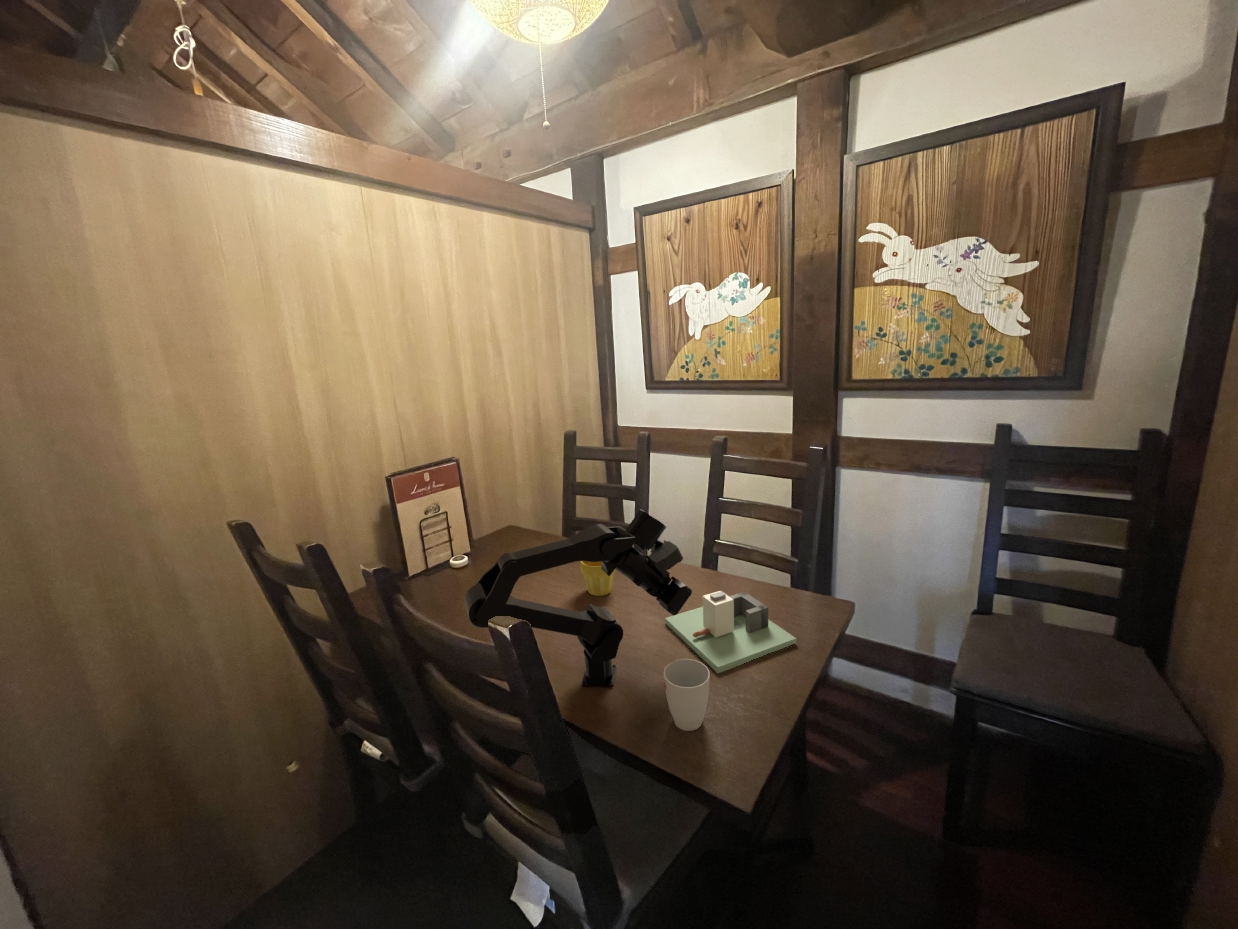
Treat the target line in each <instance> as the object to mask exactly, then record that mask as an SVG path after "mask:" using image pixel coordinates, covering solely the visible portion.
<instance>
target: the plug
mask: <svg viewBox="0 0 1238 929" xmlns="http://www.w3.org/2000/svg"><path fill="white" fill-rule="evenodd" d="M729 596H730V595H728V594H727V593H725V592H724V591H722V590H718V591H715V592H711V593H708V594H704V595H702V607H703V627H704V628H705V629H704V630H701V631H698V632H695V633H693V637H698V636H701V635H704V634H707V633H709V632H710V633H711V634H712V635H713V636H715V637H719V636H722V635H725V634H728V633H731V632H733V631H734V600H733V599H732V598H731V597H729Z"/></svg>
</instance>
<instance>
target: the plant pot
mask: <svg viewBox="0 0 1238 929" xmlns="http://www.w3.org/2000/svg"><path fill="white" fill-rule="evenodd" d="M601 565H602V562H587V561H579V567H580V568H579V569H580V571H581V574H582V575H583V577H584V581H585V583H586V588H587V592H588V593H589V594H590V595H592V596H595V597H601V596H606V595H609V594H610V593H611V592H612V590H613V584H614V578H615V573H616V571H617V570H616V569H615V570H614V571H613V573H612V574H611V575H610V576H608V575H607V574H606V573H605V572H604V571H603V570H602V569H601Z"/></svg>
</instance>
